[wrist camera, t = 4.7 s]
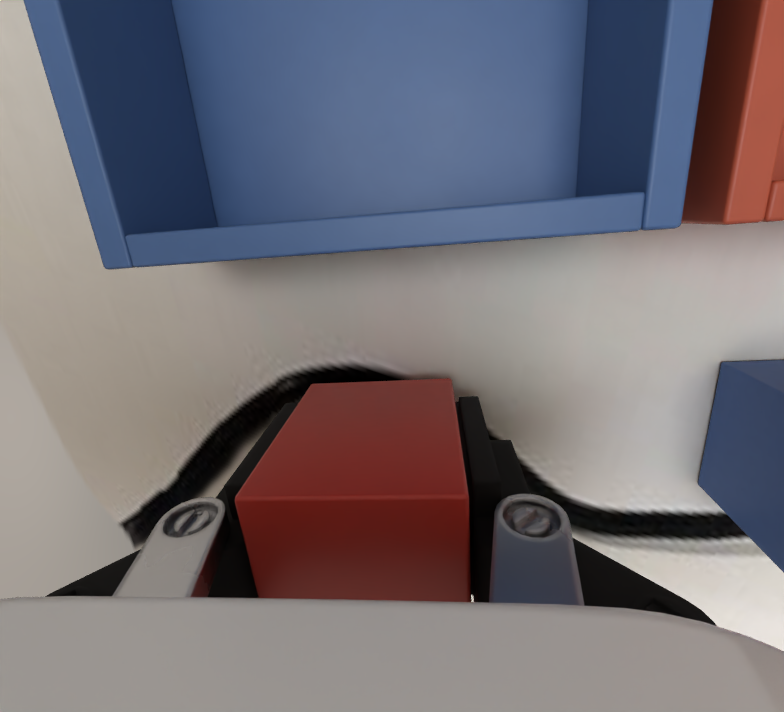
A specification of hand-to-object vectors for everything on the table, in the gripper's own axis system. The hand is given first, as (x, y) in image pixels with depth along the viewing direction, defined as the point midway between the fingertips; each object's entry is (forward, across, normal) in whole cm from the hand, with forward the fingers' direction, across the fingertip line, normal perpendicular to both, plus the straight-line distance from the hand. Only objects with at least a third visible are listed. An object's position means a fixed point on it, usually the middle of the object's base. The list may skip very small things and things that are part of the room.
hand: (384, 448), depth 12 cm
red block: (0, 0, 0) cm, 0 cm away
